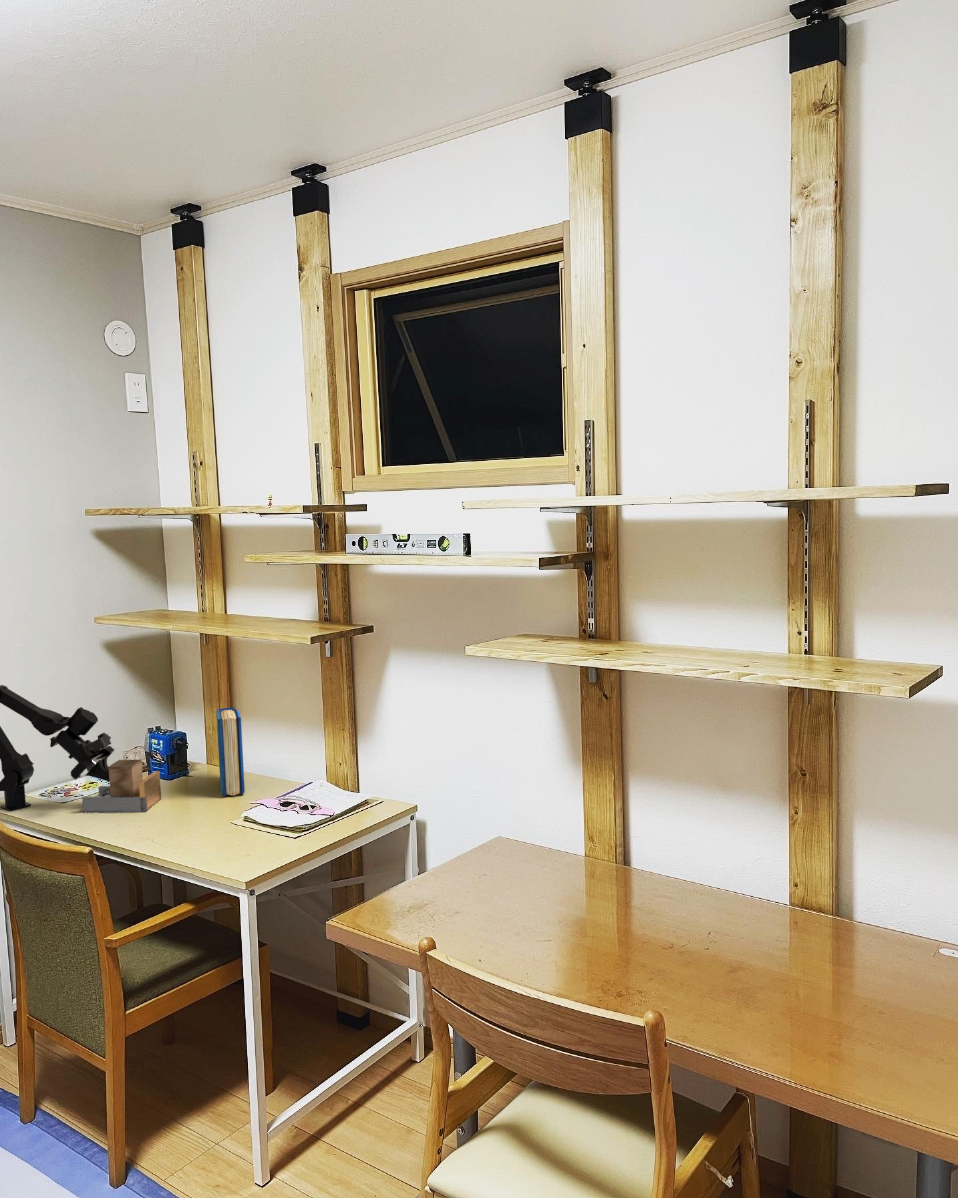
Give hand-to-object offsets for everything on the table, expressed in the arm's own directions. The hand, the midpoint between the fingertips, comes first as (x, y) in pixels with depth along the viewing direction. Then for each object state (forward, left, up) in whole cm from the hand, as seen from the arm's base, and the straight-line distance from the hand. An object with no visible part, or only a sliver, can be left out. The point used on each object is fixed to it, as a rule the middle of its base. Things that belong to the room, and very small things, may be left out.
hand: (113, 781), depth 289 cm
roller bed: (+2, +1, -8) cm, 8 cm away
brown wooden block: (+3, +3, -5) cm, 6 cm away
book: (+15, +32, -8) cm, 36 cm away
